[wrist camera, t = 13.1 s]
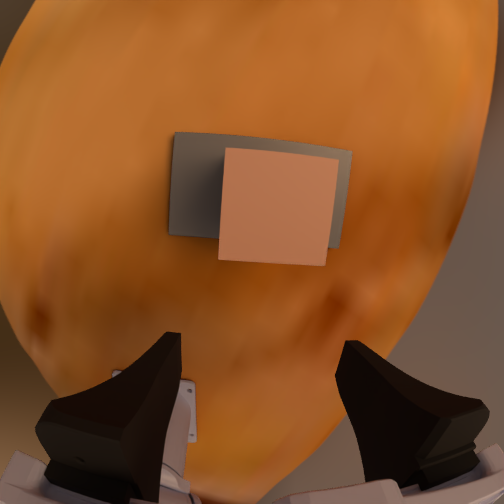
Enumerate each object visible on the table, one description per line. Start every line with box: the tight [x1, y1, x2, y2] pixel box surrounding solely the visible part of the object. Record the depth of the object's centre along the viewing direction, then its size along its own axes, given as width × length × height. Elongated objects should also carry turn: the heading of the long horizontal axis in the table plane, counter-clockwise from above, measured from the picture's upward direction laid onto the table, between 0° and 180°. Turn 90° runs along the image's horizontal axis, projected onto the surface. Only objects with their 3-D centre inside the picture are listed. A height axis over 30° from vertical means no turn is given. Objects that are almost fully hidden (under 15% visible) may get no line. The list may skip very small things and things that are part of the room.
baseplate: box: [169, 132, 352, 248], centre depth 20 cm, size 7×12×1 cm, turn 84°
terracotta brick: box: [218, 148, 339, 266], centre depth 14 cm, size 5×5×4 cm
